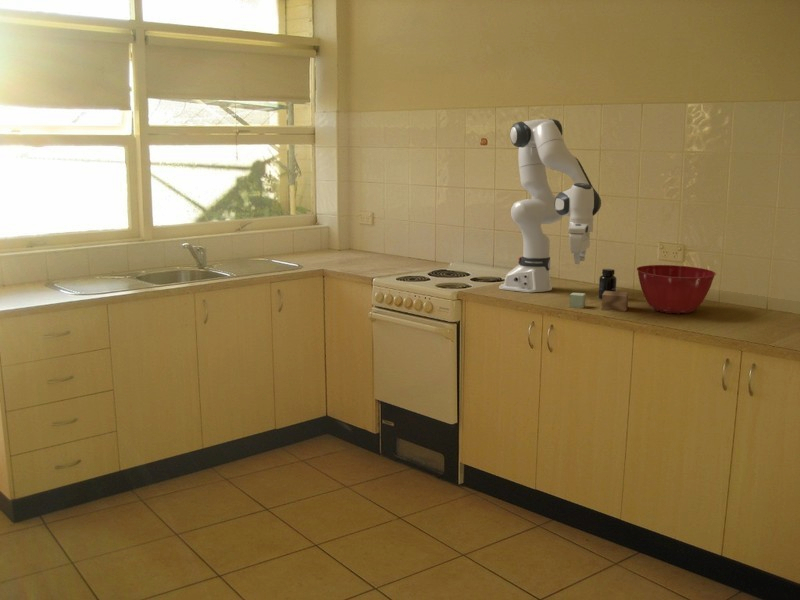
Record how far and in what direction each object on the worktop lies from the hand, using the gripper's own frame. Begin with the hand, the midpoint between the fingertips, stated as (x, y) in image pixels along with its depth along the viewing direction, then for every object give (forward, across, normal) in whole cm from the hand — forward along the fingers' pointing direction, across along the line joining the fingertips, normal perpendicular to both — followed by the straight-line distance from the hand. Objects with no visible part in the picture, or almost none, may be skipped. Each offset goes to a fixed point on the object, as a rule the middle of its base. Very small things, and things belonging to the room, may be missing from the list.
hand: (579, 262), depth 316 cm
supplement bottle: (+18, -21, +8) cm, 28 cm away
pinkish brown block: (+18, -2, +14) cm, 22 cm away
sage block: (+17, 0, 0) cm, 17 cm away
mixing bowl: (+18, -7, +35) cm, 40 cm away
